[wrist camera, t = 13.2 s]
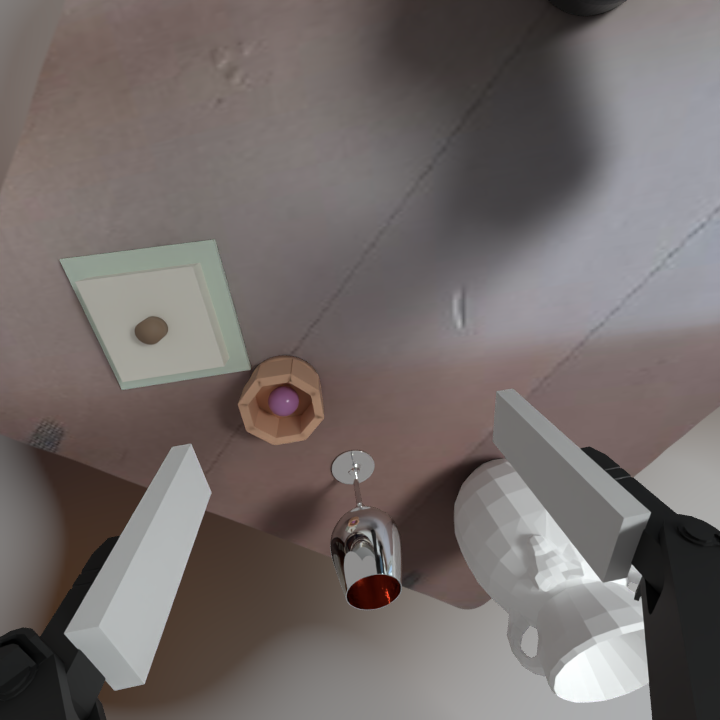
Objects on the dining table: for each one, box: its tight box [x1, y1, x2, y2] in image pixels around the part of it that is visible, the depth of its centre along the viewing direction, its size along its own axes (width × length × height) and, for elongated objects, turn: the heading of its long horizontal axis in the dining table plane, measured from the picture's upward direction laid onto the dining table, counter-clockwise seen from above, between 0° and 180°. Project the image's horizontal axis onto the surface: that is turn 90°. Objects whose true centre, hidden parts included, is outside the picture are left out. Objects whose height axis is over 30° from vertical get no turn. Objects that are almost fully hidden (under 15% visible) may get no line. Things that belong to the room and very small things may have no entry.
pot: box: [238, 355, 324, 445], centre depth 40 cm, size 9×9×6 cm
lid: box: [75, 263, 229, 382], centre depth 35 cm, size 11×11×4 cm
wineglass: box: [330, 450, 402, 610], centre depth 42 cm, size 8×8×18 cm
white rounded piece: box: [454, 458, 649, 702], centre depth 43 cm, size 19×18×25 cm
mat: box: [59, 239, 251, 390], centre depth 37 cm, size 15×15×1 cm
